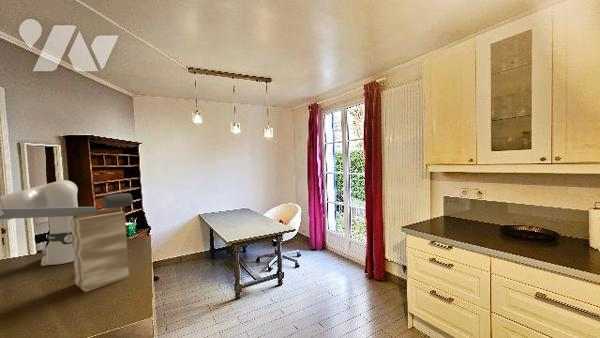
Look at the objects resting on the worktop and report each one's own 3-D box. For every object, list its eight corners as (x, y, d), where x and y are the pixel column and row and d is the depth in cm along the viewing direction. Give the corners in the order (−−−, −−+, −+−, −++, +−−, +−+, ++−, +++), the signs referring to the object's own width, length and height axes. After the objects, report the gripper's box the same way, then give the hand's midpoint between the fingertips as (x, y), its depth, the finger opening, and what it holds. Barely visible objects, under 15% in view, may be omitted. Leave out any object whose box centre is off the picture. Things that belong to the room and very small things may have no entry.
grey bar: (-10, 218, 82) (-9, 208, 82) (93, 214, 103) (93, 206, 103) (-9, 219, 80) (-8, 209, 80) (95, 215, 101) (96, 207, 101)
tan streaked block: (75, 283, 101) (70, 213, 101) (117, 270, 113) (113, 207, 112) (85, 292, 94) (79, 216, 93) (129, 277, 105) (124, 209, 105)
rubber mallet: (109, 253, 136) (105, 195, 135) (104, 251, 141) (101, 195, 140) (136, 246, 146) (132, 192, 145) (131, 244, 151) (127, 192, 150)
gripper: (-52, 245, 81) (5, 215, 90) (-52, 257, 69) (14, 221, 78) (-71, 229, 78) (-11, 200, 88) (-75, 239, 66) (-4, 204, 75)
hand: (1, 210), depth 83 cm, fingers closed on grey bar, 3 cm apart
